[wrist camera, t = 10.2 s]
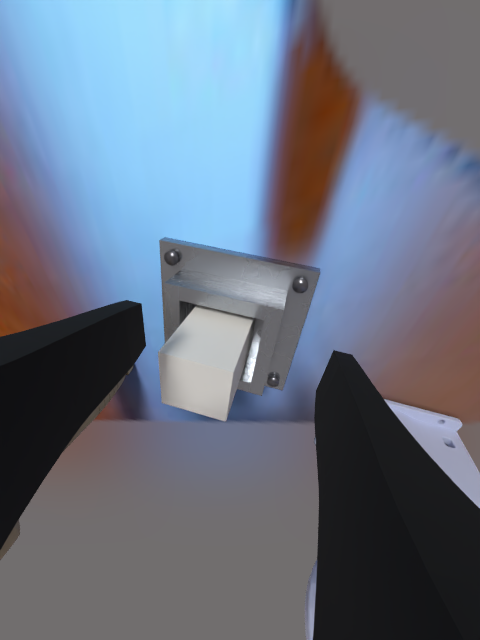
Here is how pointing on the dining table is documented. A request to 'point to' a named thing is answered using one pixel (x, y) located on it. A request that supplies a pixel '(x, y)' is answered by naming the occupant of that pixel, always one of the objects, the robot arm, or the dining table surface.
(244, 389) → the bracket
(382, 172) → the dining table surface
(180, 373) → the block
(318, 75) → the dining table surface
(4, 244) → the dining table surface
